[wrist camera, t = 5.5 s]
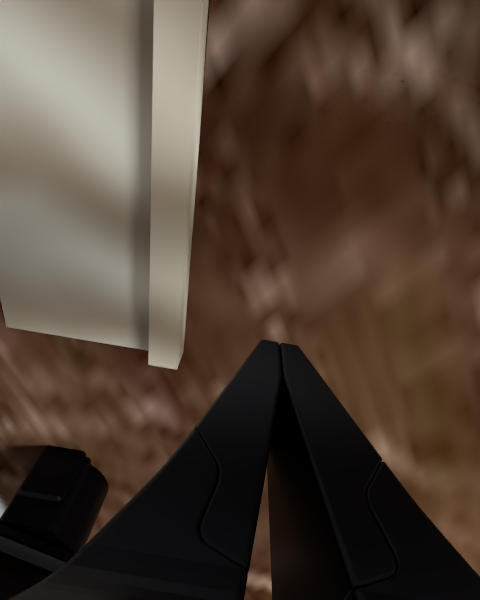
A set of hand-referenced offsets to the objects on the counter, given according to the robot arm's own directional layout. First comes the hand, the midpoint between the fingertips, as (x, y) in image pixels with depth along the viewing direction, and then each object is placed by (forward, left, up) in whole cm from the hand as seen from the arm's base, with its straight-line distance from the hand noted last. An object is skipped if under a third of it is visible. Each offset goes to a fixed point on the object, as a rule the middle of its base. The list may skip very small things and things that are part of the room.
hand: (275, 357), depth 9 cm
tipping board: (0, +4, -9) cm, 10 cm away
